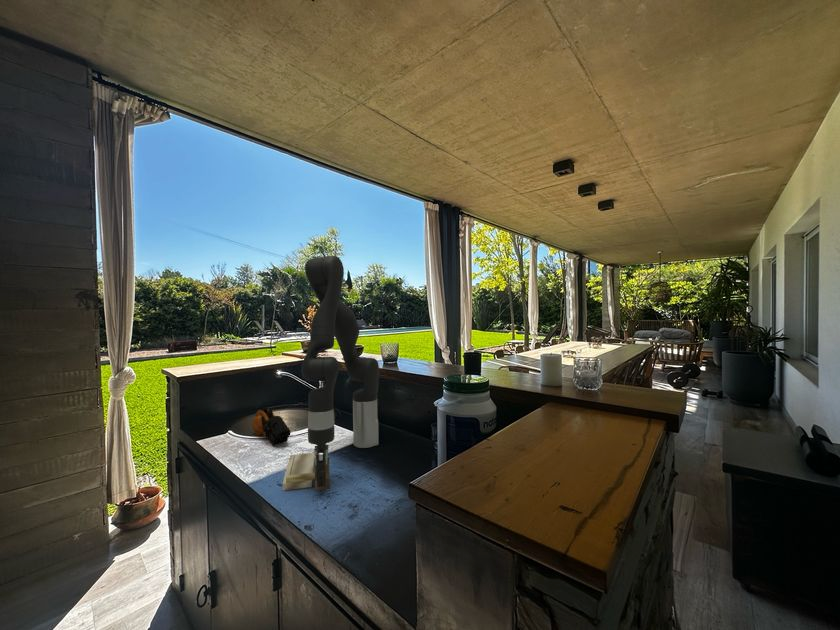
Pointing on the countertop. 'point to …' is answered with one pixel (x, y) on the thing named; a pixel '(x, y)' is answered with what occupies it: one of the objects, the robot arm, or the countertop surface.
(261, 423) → the tool
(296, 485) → the board
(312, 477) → the gauge
